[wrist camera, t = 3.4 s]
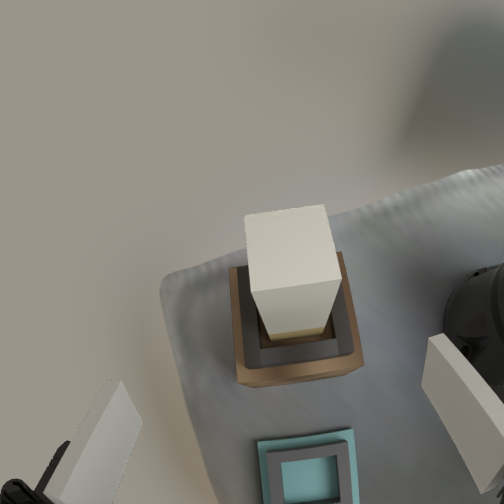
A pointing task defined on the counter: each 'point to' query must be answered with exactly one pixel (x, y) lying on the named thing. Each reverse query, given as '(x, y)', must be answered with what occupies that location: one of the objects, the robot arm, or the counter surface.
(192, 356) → the counter surface
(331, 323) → the wooden planter box
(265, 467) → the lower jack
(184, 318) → the counter surface
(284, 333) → the plug
